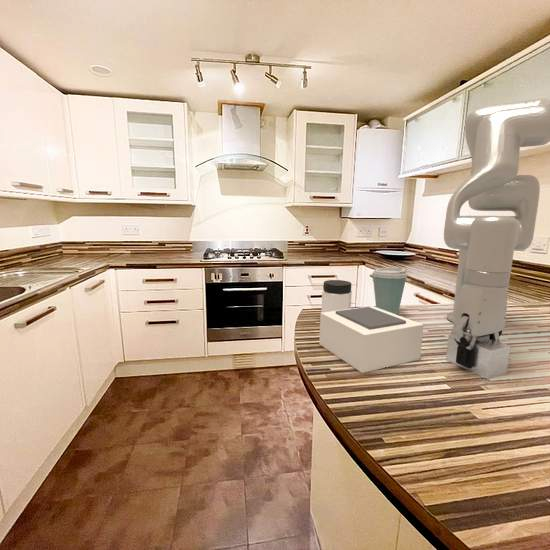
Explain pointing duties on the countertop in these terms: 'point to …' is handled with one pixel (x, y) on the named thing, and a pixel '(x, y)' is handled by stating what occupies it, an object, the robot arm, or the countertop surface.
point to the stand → (370, 337)
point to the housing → (483, 356)
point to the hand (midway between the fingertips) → (475, 361)
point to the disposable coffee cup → (389, 288)
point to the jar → (336, 295)
